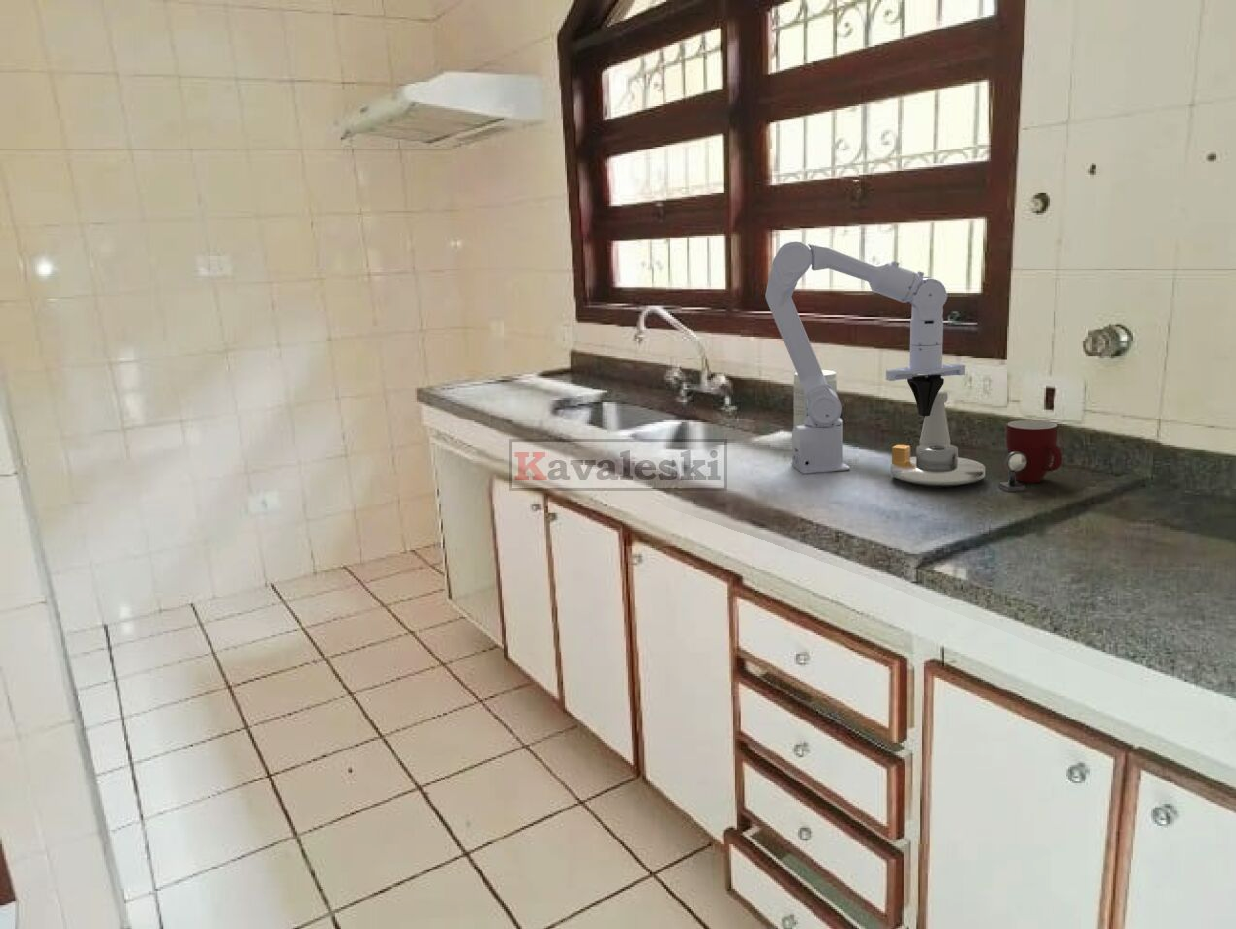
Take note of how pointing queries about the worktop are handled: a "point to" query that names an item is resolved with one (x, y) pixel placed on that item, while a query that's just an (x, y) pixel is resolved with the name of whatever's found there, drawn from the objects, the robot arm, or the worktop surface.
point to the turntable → (907, 471)
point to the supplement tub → (800, 397)
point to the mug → (1034, 447)
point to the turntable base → (937, 485)
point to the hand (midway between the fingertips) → (924, 415)
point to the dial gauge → (1014, 471)
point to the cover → (936, 457)
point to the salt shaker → (936, 423)
